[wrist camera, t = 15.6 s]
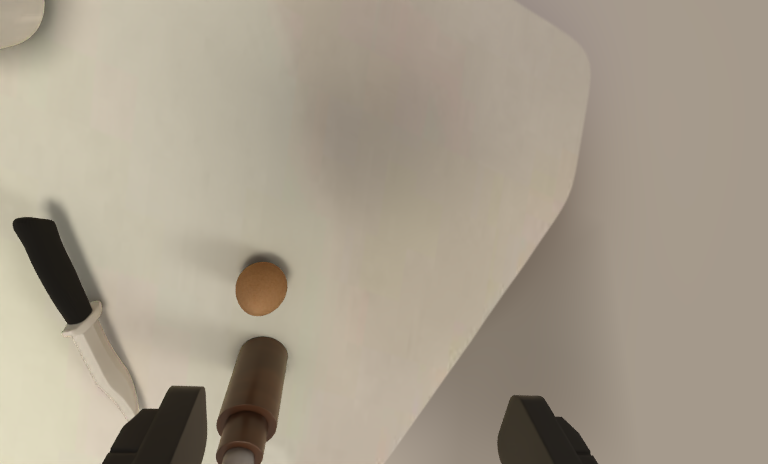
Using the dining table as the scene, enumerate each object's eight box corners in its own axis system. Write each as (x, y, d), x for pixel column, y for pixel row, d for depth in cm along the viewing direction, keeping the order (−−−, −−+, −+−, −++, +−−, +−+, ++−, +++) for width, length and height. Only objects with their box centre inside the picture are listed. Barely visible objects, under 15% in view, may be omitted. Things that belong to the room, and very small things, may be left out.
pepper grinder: (264, 328, 43) (234, 441, 30) (297, 357, 44) (282, 474, 32) (228, 354, 43) (186, 475, 31) (262, 382, 45) (235, 505, 33)
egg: (286, 250, 39) (278, 282, 34) (293, 290, 41) (286, 327, 36) (238, 254, 39) (222, 288, 34) (247, 295, 41) (233, 333, 35)
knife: (156, 414, 45) (136, 454, 41) (139, 416, 45) (117, 457, 41) (64, 199, 35) (24, 220, 31) (42, 201, 35) (-1, 223, 31)
